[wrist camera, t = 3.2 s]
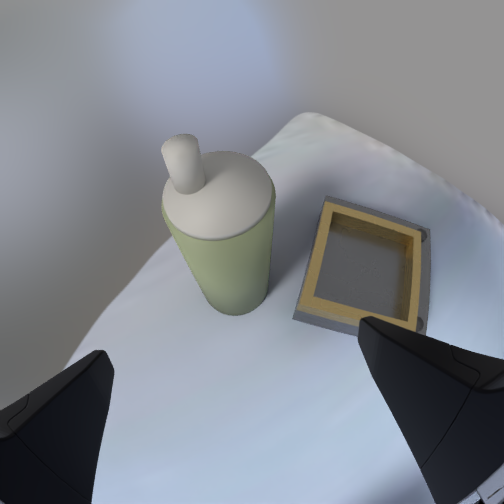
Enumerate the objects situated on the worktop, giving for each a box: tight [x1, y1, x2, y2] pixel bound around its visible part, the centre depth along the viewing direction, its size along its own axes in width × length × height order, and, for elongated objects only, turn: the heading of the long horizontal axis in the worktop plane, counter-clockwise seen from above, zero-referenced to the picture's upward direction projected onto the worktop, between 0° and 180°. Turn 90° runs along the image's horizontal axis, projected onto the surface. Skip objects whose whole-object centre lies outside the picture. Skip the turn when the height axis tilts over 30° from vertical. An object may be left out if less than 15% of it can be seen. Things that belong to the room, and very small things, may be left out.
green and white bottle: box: [161, 134, 276, 316], centre depth 17 cm, size 6×6×15 cm
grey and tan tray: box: [293, 196, 431, 337], centre depth 22 cm, size 11×11×4 cm
